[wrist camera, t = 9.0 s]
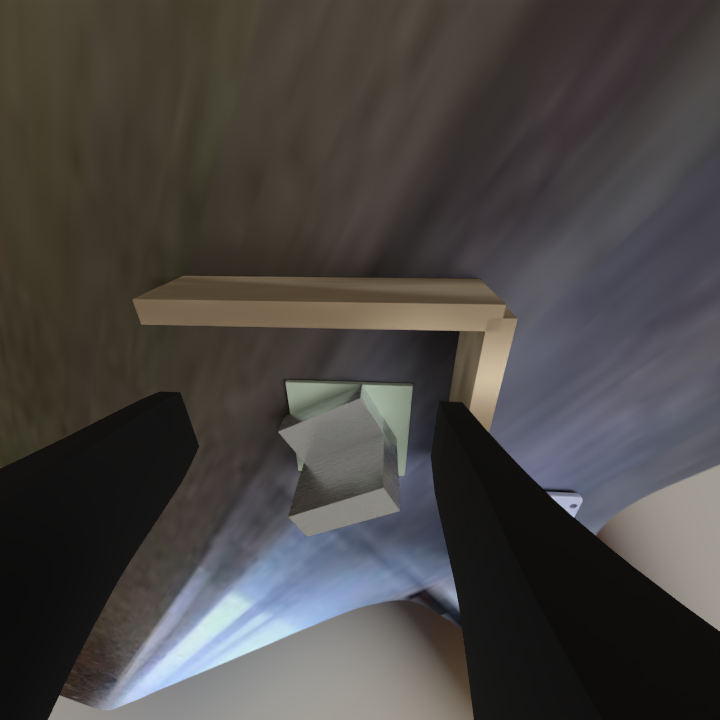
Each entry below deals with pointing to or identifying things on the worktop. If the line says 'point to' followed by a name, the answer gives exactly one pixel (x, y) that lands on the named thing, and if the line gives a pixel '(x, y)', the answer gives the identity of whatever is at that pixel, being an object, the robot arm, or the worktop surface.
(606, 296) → the worktop surface
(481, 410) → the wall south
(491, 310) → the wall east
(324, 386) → the pad
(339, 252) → the worktop surface
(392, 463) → the bracket
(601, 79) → the worktop surface
